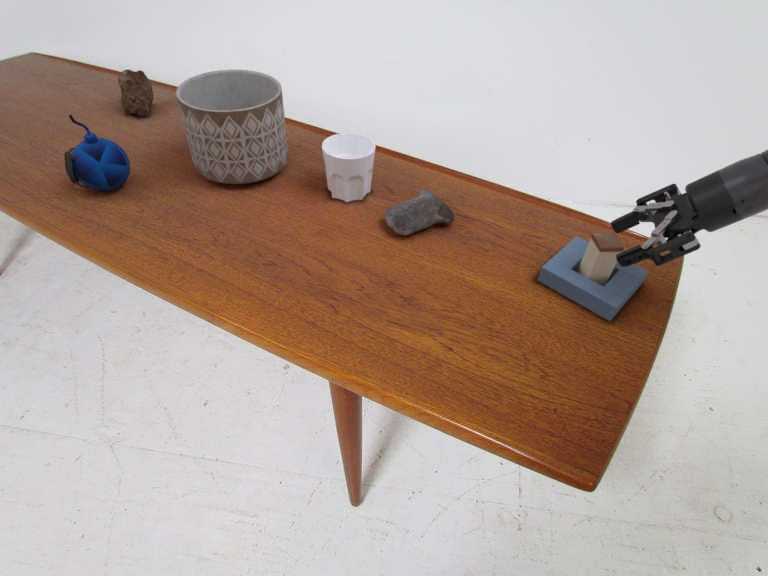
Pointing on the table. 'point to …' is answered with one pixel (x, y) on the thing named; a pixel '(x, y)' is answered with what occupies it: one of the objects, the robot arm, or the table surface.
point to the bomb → (97, 162)
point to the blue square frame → (590, 281)
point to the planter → (234, 125)
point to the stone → (418, 213)
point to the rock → (135, 92)
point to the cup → (348, 165)
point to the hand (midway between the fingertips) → (615, 244)
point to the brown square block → (600, 257)
